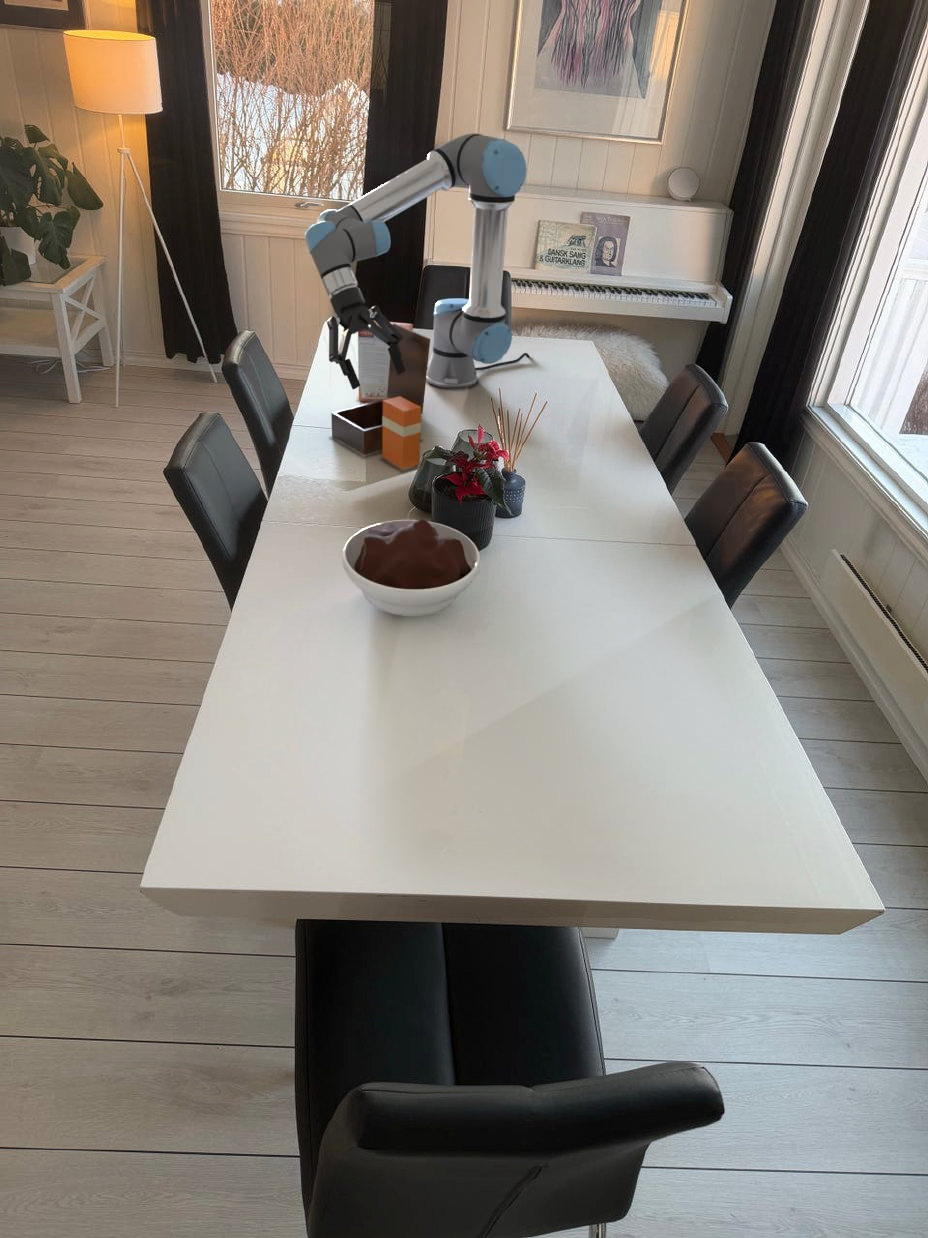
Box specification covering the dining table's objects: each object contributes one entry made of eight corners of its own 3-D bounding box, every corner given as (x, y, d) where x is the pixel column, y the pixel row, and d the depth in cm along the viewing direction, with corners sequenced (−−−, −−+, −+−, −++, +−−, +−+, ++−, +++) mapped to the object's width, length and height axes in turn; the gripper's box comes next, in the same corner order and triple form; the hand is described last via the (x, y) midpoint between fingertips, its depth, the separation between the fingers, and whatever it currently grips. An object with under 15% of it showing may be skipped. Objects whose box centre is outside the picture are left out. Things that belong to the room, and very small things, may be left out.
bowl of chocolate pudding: (357, 555, 169) (356, 486, 161) (482, 568, 168) (488, 500, 160) (329, 628, 149) (326, 554, 140) (470, 643, 148) (476, 570, 139)
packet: (398, 454, 208) (399, 395, 200) (419, 466, 204) (421, 406, 195) (381, 459, 205) (382, 400, 197) (402, 472, 201) (404, 411, 192)
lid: (427, 338, 201) (430, 338, 202) (392, 323, 209) (395, 323, 210) (420, 414, 211) (422, 413, 212) (386, 396, 219) (389, 396, 220)
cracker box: (411, 398, 239) (413, 322, 226) (408, 406, 234) (410, 329, 222) (362, 393, 239) (362, 317, 227) (358, 401, 234) (357, 324, 222)
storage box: (364, 457, 206) (363, 431, 202) (331, 438, 214) (331, 412, 210) (420, 441, 216) (421, 415, 212) (387, 423, 224) (387, 398, 220)
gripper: (378, 287, 208) (412, 371, 211) (292, 309, 194) (329, 398, 198) (393, 275, 201) (427, 361, 205) (305, 297, 188) (344, 389, 192)
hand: (379, 380), depth 202 cm, fingers open, 13 cm apart
